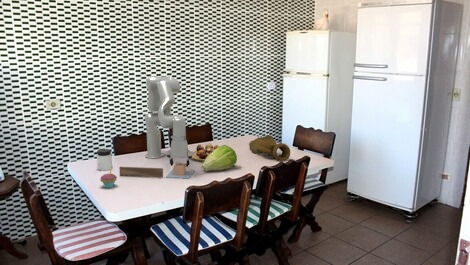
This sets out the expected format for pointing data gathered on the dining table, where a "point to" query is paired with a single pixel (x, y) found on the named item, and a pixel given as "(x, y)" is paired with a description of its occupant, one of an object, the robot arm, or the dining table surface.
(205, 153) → the wooden plate with food
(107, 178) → the cupcake
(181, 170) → the lettered cube
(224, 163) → the lettuce
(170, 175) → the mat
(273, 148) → the brown looped sculpture
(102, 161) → the jar
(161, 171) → the walnut screen
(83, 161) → the dining table surface
